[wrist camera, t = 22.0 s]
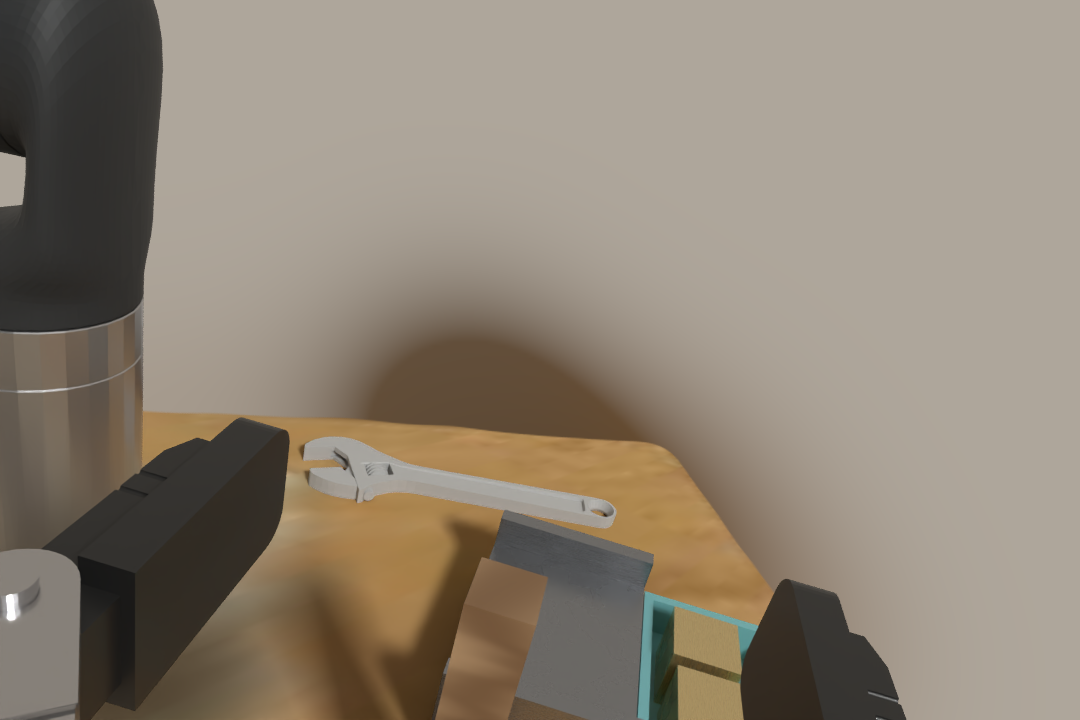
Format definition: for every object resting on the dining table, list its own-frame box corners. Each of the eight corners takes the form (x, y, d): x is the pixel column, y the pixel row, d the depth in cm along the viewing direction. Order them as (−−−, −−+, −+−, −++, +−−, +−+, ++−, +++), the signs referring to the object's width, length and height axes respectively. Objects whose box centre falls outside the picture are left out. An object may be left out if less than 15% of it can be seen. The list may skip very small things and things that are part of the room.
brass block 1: (673, 653, 42) (742, 674, 42) (674, 605, 46) (737, 625, 45) (653, 702, 44) (719, 723, 43) (655, 652, 47) (716, 671, 47)
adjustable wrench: (610, 516, 62) (616, 499, 61) (613, 566, 56) (620, 548, 55) (315, 447, 60) (318, 428, 60) (287, 491, 55) (289, 471, 54)
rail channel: (422, 757, 38) (442, 673, 35) (486, 579, 50) (504, 509, 48) (611, 818, 37) (645, 737, 35) (627, 623, 50) (653, 554, 47)
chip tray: (617, 820, 37) (633, 781, 36) (632, 625, 50) (645, 591, 49) (793, 878, 36) (816, 840, 35) (762, 665, 49) (778, 632, 48)
